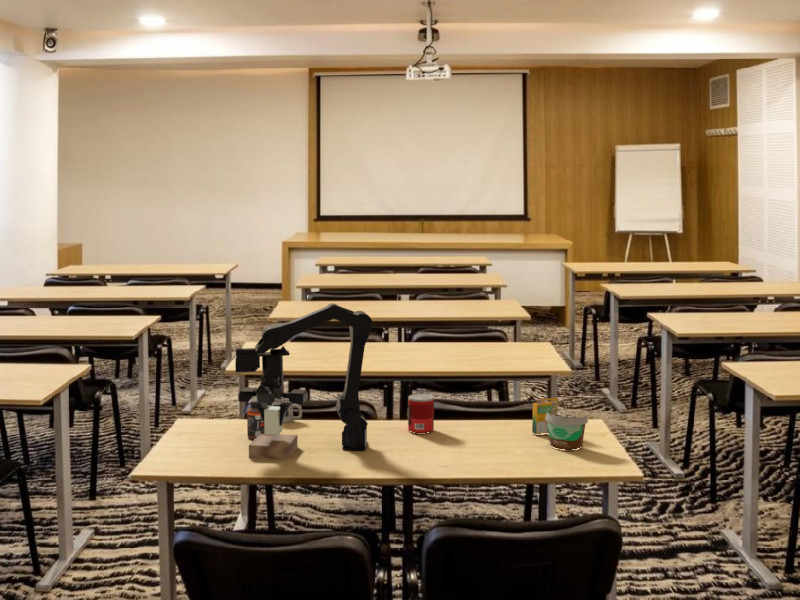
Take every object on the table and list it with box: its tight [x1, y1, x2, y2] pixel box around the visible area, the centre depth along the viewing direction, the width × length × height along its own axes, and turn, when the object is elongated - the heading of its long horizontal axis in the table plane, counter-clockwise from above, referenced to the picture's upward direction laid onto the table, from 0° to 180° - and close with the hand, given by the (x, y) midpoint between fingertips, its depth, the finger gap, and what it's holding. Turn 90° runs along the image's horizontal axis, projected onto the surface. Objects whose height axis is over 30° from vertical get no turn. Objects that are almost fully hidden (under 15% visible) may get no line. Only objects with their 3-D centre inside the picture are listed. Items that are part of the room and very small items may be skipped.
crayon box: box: [531, 397, 559, 434], centre depth 240 cm, size 7×3×12 cm, turn 108°
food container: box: [545, 411, 589, 450], centre depth 226 cm, size 12×6×10 cm, turn 70°
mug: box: [271, 399, 303, 425], centre depth 253 cm, size 10×7×7 cm
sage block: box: [264, 405, 283, 435], centre depth 221 cm, size 4×4×7 cm
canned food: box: [407, 393, 435, 433], centre depth 242 cm, size 8×8×11 cm
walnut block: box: [248, 433, 299, 461], centre depth 222 cm, size 11×11×4 cm
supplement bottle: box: [246, 399, 265, 440], centre depth 235 cm, size 6×6×11 cm
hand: (273, 425), depth 221 cm, fingers closed on sage block, 4 cm apart
